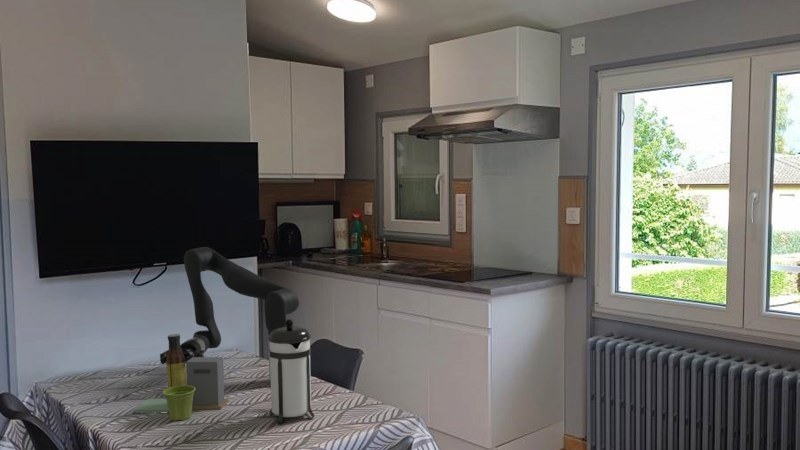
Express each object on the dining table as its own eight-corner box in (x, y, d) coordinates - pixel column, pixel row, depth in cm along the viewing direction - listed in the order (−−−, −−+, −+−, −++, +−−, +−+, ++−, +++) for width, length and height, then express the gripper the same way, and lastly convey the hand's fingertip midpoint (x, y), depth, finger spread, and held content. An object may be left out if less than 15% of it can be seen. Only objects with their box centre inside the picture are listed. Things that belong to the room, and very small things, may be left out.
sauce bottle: (190, 390, 234) (188, 333, 233) (179, 395, 228) (177, 337, 227) (175, 388, 236) (173, 332, 235) (163, 393, 230) (161, 336, 229)
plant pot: (178, 425, 200) (177, 396, 199) (157, 419, 205) (156, 391, 204) (203, 415, 208) (202, 388, 207) (182, 410, 213) (181, 383, 212)
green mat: (181, 401, 222) (181, 398, 222) (168, 413, 211) (168, 409, 211) (148, 401, 222) (148, 398, 222) (133, 413, 211) (133, 409, 211)
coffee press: (327, 410, 211) (325, 315, 209) (298, 427, 196) (296, 326, 194) (280, 403, 218) (278, 312, 216) (250, 419, 204) (247, 321, 202)
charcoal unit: (228, 401, 221) (227, 356, 220) (220, 409, 213) (219, 362, 212) (192, 401, 222) (190, 356, 221) (183, 409, 214) (181, 362, 213)
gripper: (172, 339, 247) (153, 350, 231) (210, 339, 246) (194, 350, 230) (172, 359, 247) (154, 372, 231) (211, 359, 246) (195, 372, 230)
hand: (174, 361), depth 230 cm, fingers open, 8 cm apart
